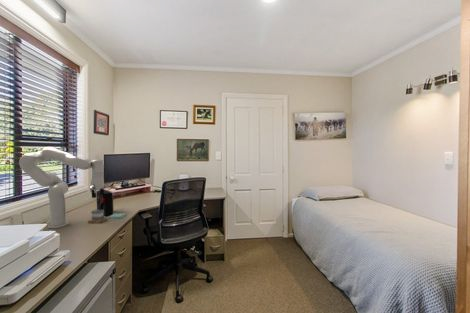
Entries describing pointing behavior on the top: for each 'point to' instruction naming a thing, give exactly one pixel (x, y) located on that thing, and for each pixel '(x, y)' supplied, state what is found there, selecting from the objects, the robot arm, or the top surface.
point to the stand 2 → (117, 216)
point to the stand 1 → (98, 220)
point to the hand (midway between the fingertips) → (98, 196)
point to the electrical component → (105, 202)
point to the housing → (97, 214)
